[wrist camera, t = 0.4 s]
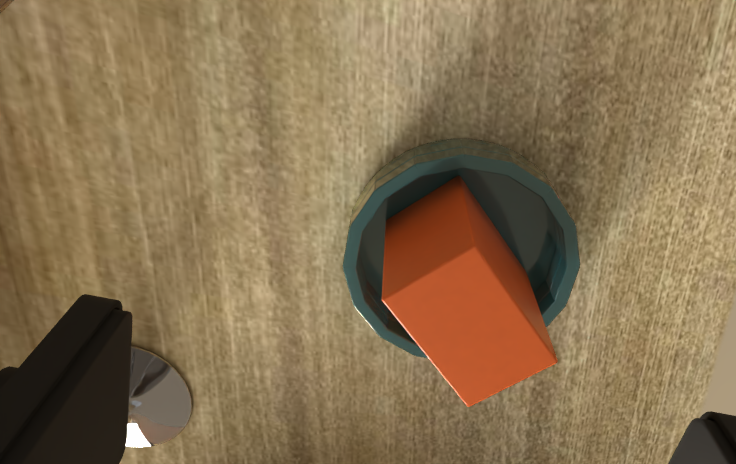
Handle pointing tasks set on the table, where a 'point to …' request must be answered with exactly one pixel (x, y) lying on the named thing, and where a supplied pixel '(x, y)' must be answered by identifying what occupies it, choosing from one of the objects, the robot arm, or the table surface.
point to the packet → (463, 294)
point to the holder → (4, 4)
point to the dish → (496, 197)
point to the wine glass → (155, 400)
